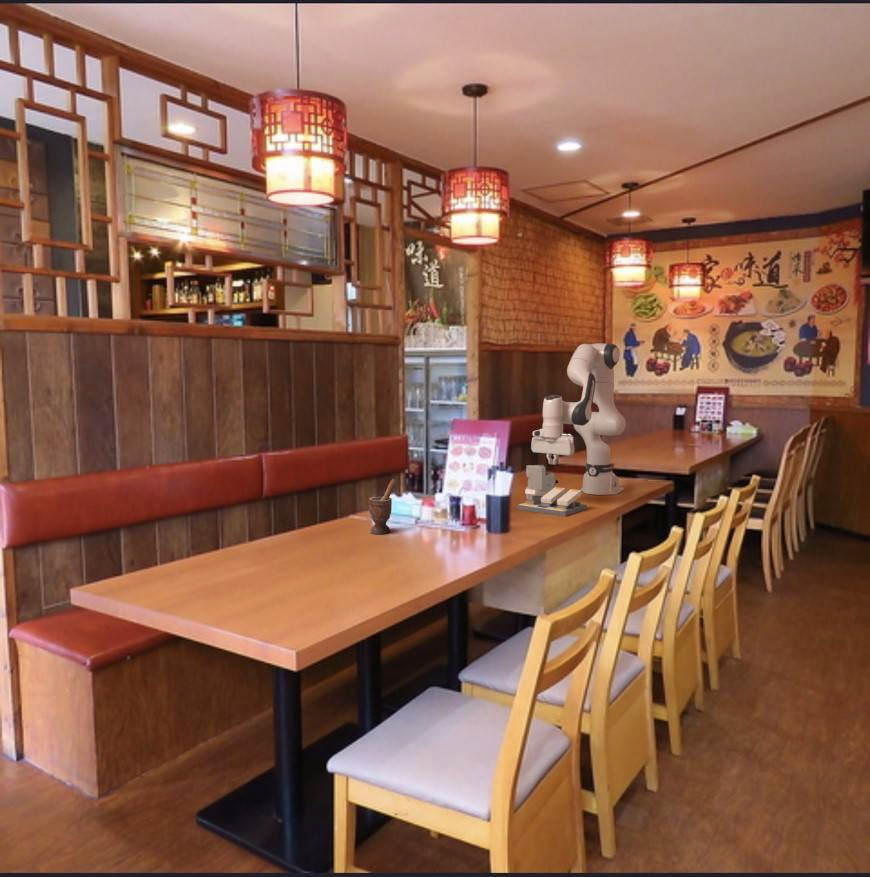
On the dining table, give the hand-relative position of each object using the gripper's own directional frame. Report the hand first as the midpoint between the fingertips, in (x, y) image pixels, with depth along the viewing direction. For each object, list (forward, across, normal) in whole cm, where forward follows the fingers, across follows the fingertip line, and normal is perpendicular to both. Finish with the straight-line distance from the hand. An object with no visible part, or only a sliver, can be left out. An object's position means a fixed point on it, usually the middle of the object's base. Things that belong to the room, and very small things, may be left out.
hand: (552, 464), depth 320 cm
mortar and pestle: (+19, +25, +78) cm, 85 cm away
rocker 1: (+14, +6, +3) cm, 16 cm away
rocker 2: (+13, -2, +3) cm, 14 cm away
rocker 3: (+13, -10, +3) cm, 17 cm away
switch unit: (+19, -2, +4) cm, 20 cm away
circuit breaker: (+19, +15, -15) cm, 29 cm away
